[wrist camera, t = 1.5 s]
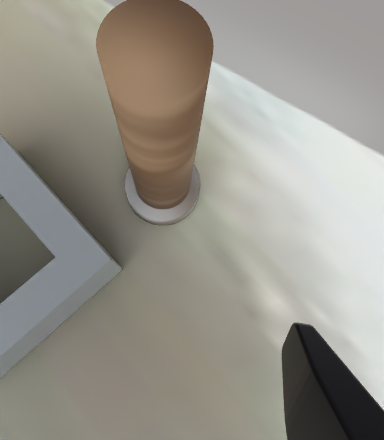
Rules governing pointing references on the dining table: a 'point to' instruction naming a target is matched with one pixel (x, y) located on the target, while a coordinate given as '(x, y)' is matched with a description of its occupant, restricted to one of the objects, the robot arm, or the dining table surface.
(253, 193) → the dining table surface
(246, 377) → the dining table surface
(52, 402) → the dining table surface
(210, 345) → the dining table surface
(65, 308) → the tool holder
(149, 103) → the cleaning tool
